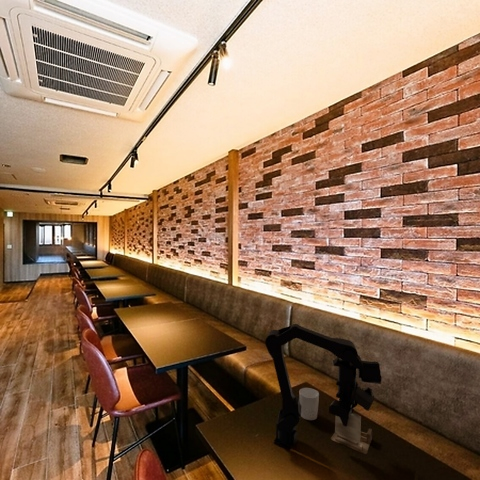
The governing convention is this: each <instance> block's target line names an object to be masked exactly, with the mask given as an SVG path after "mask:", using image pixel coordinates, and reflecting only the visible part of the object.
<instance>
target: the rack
mask: <svg viewBox="0 0 480 480" xmlns="http://www.w3.org/2000/svg"><path fill="white" fill-rule="evenodd" d="M337 434H338V433H335V432H334V433H333V434H332V436H331V437H330V440H331V441H334V442H336V443H338V444H341V445H342V446H345V447H348V448H350V449H353V450H355V451H356V452H359V453H362V454H365V455H367V454H368V451H369V449H370V448H369V447H370V445H371V442H372V440H373V429H372V428H368V429H367V432H364V431H361V434H360V442H359V443H362V444H363V450H362V451H359V450H357V449H355V448H352V447H350V446H348V445H345V444H343V443H340V442H338V441H336V440H335V438H336V436H337Z"/></svg>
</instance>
